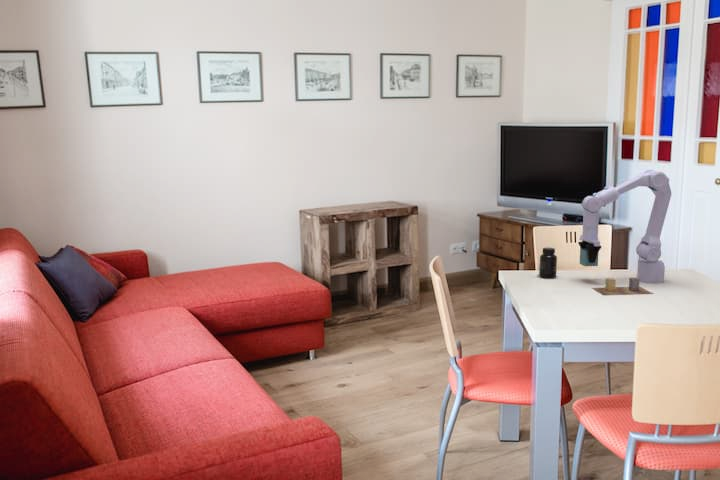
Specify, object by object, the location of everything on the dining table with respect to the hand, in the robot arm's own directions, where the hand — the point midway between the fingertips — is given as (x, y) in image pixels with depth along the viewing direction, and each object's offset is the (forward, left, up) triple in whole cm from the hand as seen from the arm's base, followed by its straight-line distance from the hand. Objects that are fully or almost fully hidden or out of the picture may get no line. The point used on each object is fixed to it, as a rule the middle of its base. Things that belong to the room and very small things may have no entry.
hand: (588, 261), depth 261 cm
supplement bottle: (+12, -12, -9) cm, 19 cm away
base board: (-6, +16, -9) cm, 19 cm away
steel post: (-11, +16, -8) cm, 21 cm away
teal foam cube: (0, 0, -2) cm, 2 cm away
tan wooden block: (-2, +16, -8) cm, 18 cm away
